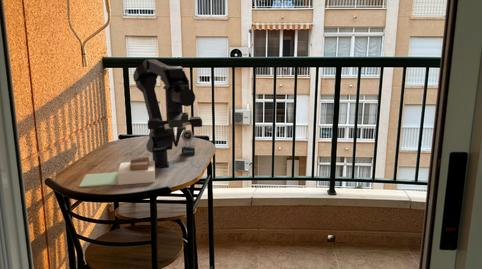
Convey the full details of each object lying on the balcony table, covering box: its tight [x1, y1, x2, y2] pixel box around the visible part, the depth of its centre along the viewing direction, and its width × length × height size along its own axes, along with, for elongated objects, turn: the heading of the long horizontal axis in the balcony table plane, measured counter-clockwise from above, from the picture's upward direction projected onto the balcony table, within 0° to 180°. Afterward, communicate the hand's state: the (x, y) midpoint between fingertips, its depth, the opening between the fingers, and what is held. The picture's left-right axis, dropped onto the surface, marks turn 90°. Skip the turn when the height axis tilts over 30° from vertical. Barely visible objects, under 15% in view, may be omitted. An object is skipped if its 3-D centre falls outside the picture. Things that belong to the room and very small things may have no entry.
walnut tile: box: [130, 156, 150, 171], centre depth 141 cm, size 9×6×2 cm, turn 11°
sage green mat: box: [78, 171, 118, 188], centre depth 140 cm, size 13×12×1 cm
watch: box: [181, 128, 196, 156], centre depth 172 cm, size 6×8×11 cm
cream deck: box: [117, 160, 156, 186], centre depth 142 cm, size 13×12×4 cm
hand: (176, 146), depth 143 cm, fingers closed
